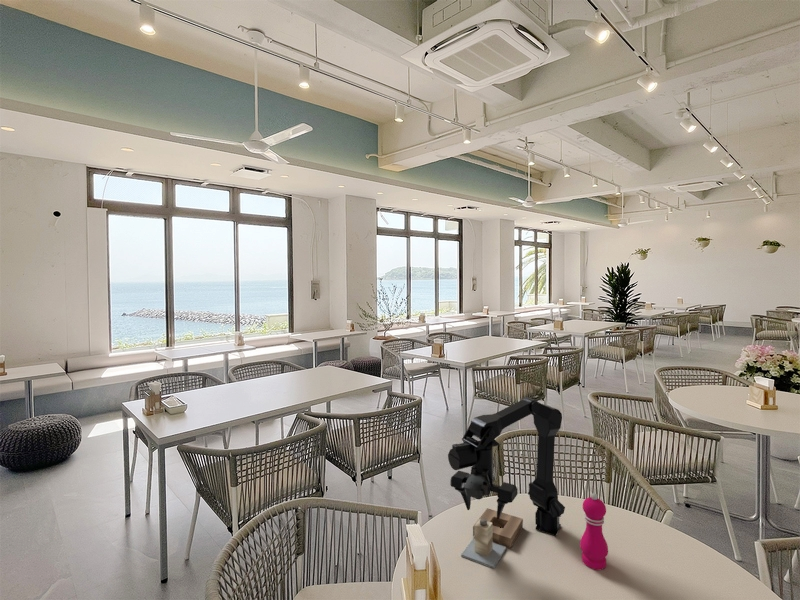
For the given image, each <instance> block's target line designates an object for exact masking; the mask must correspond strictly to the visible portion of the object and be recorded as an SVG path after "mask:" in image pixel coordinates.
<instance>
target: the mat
mask: <svg viewBox="0 0 800 600" xmlns="http://www.w3.org/2000/svg"><path fill="white" fill-rule="evenodd" d="M506 550H507V547H506V546H503V545H500V544H497V543H494V542H493V549H492V551H491V552H490V554H489V555H488V557H487V556H485V555H482V554H479V553H477V552H475V541H474V537H473V538H472V540H471V541H470V542H469V543H468V544H467V546H466V547H465V549H464V550H463V551H462V553H461V555H460V556H461V558H465V559H467V560H470V561H473V562H475V563H478V564H480V565H484V566H486V567H489V568H491V569H495V568H496V566H497V565H498V563H499V562H500V560H501V558H502V556H503V555H504V554H505V551H506Z"/></svg>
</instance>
